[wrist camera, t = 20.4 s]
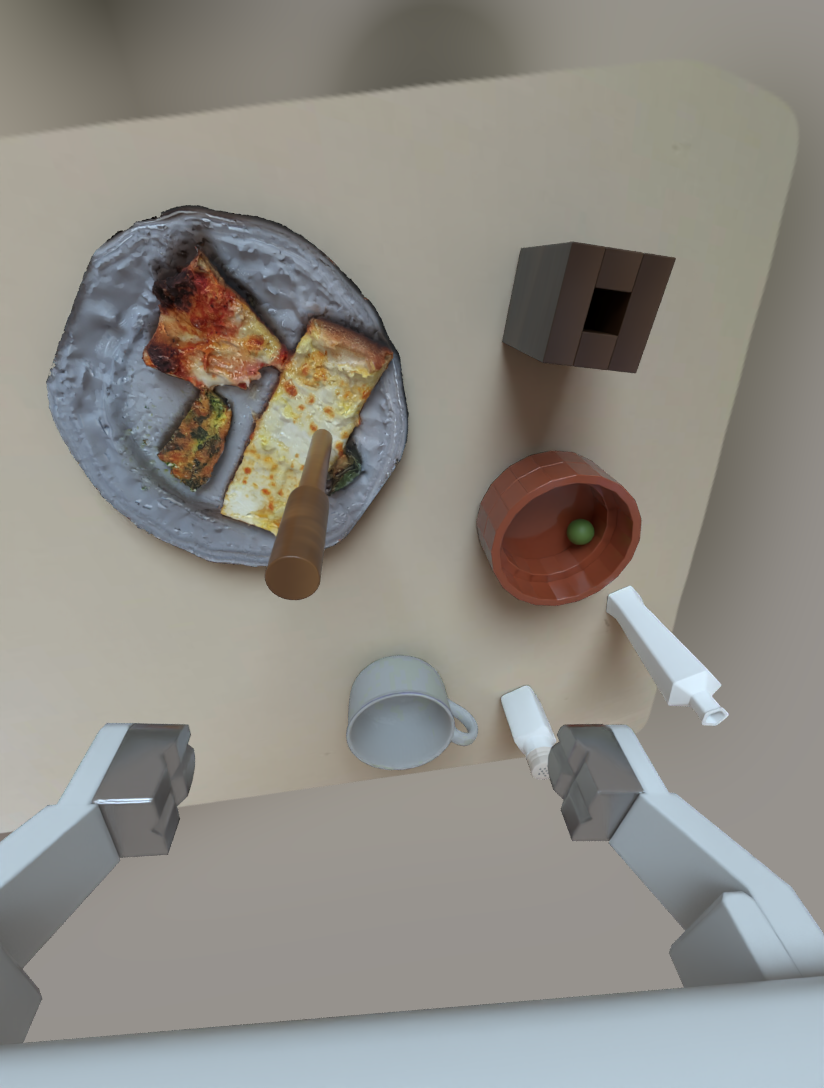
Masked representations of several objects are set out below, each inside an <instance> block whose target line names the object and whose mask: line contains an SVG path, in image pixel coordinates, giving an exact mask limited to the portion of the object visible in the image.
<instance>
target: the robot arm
mask: <svg viewBox="0 0 824 1088" xmlns="http://www.w3.org/2000/svg"><path fill="white" fill-rule="evenodd" d="M190 736H191V733H190V729H189V725H186V724H141V723H107V724H106V725H105V726H104V727H103V728H102V729H101V730H100V731H99V732H98V733H97V735H96V737H95V739H94V740H93V742H92V744H91V746H90V747H89V749H88V751H87V753H86V754H85V756H84V758H83V760H82V761H81V763H80V765H79V766H78V768H77V770H76V772H75V773H74V775H73V777H72V779H71V780H70V782H69V784H68V786H67V787H66V789H65V791H64V793H63V794H62V796H61V798H60V799H59V801H58V803H57V805H47V806H46V807H45V808H43V809H42V810H41V811H40V812H38V813H37V814H36V815H34V816H33V817H32V818H30V819H29V820H28V821H27V822H25V823H24V824H23V825H21V826H20V827H19V828H18V829H16V830H15V831H14V832H12V833H11V834H10V835H9V836H7V837H6V838H5V839H3V840H2V841H1V842H0V1088H824V934H823V933H822V931H821V929H820V928H819V926H818V925H817V923H816V922H815V920H814V919H813V918H812V916H811V915H810V913H809V912H808V910H807V909H806V908H805V906H804V904H803V903H802V902H801V900H800V899H799V897H798V896H797V894H796V893H795V891H794V890H793V888H792V887H791V886H789V885H788V884H787V883H786V882H785V881H783V880H782V879H781V878H780V877H779V876H777V875H776V874H775V873H774V872H772V871H771V870H770V869H769V868H767V867H766V866H765V865H764V864H762V863H761V862H760V861H759V860H758V859H756V858H755V857H754V856H752V855H751V854H750V853H749V852H748V851H746V850H745V849H744V848H743V847H741V846H740V845H739V844H738V843H736V842H735V841H734V840H733V839H732V838H730V837H729V836H728V835H727V834H725V833H724V832H723V831H722V830H720V829H719V828H718V827H717V826H715V825H714V824H713V823H712V822H710V821H709V820H708V819H707V818H706V817H704V816H703V815H702V814H701V813H699V812H698V811H697V810H696V809H694V808H693V807H692V806H691V805H689V804H688V803H687V802H686V801H684V800H683V799H682V798H681V797H680V796H678V795H677V794H676V793H669V792H668V790H667V789H666V787H665V785H664V784H663V782H662V780H661V778H660V777H659V775H658V774H657V772H656V770H655V768H654V766H653V765H652V763H651V761H650V760H649V758H648V756H647V754H646V753H645V751H644V749H643V748H642V746H641V744H640V742H639V741H638V739H637V737H636V736H635V734H634V732H633V731H632V729H631V728H630V727H629V726H627V725H603V724H574V725H563V726H562V727H560V729H559V731H558V733H557V736H558V739H559V742H558V743H556V744H555V745H554V746H552V747H551V750H550V752H549V755H548V772H549V778H550V781H551V784H552V787H553V790H554V791H555V792H556V793H557V794H558V795H559V796H561V797H562V799H564V800H563V804H562V807H561V812H562V815H563V817H564V820H565V823H566V826H567V828H568V831H569V833H570V836H571V839H572V841H609V844H610V845H611V847H612V848H613V849H614V850H615V851H616V852H617V853H618V855H619V856H620V857H621V858H622V859H623V860H624V861H625V862H626V864H627V865H628V866H629V867H630V868H631V869H632V870H633V872H634V873H635V874H636V875H637V876H638V877H639V878H640V880H641V881H642V882H643V883H644V884H645V885H646V886H647V888H648V889H649V890H650V891H651V892H652V893H653V894H654V896H655V897H656V898H657V899H658V900H659V901H660V902H661V904H662V905H663V906H664V907H665V908H666V909H667V910H668V912H669V913H670V914H671V915H672V916H673V917H674V918H675V920H676V921H677V922H678V923H679V924H680V925H681V926H682V928H683V929H684V930H685V932H684V933H683V934H682V935H681V936H680V937H679V938H678V939H677V940H676V941H675V942H674V943H673V944H672V945H671V949H670V951H669V954H670V956H671V959H672V961H673V963H674V965H675V968H676V970H677V972H678V975H679V977H680V979H681V982H682V984H683V986H684V988H675V989H664V990H663V989H662V990H651V991H638V992H627V993H614V994H603V995H591V996H579V997H567V998H555V999H543V1000H531V1001H519V1002H507V1003H495V1004H483V1005H471V1006H459V1007H447V1008H436V1009H423V1010H412V1011H399V1012H388V1013H375V1014H363V1015H351V1016H339V1017H327V1018H317V1019H304V1020H291V1021H280V1022H269V1023H255V1024H243V1025H232V1026H220V1027H208V1028H197V1029H184V1030H172V1031H160V1032H148V1033H137V1034H124V1035H112V1036H100V1037H89V1038H76V1039H64V1040H52V1041H40V1042H28V1043H23V1042H24V1040H25V1037H26V1035H27V1033H28V1030H29V1028H30V1025H31V1023H32V1021H33V1018H34V1016H35V1014H36V1012H37V1009H38V1007H39V1005H40V1002H41V1000H42V996H41V993H40V990H39V988H38V987H37V986H36V985H35V983H34V982H33V981H32V980H31V979H30V977H29V976H28V975H27V974H26V973H25V972H24V970H23V968H24V966H25V965H26V964H27V963H28V962H29V961H30V960H31V959H32V958H33V956H34V955H35V954H36V953H37V952H38V951H39V950H40V949H41V948H42V947H43V945H44V944H45V943H46V942H47V941H48V940H49V939H50V938H51V936H52V935H53V934H54V933H55V932H56V931H57V930H58V929H59V928H60V927H61V926H62V925H63V923H64V922H65V921H66V920H67V919H68V918H69V916H71V915H72V913H73V912H74V911H75V910H76V909H77V908H78V907H79V906H80V905H81V904H82V902H83V901H84V900H85V899H86V898H87V897H88V896H89V895H90V894H91V892H92V891H93V890H94V889H95V888H96V887H97V886H98V885H99V884H100V883H101V881H102V880H103V879H104V878H105V877H106V876H107V875H108V874H109V873H110V872H111V870H112V869H113V868H114V867H115V866H116V865H117V864H118V863H119V861H120V858H122V857H138V856H154V855H168V853H169V850H170V847H171V844H172V841H173V838H174V835H175V832H176V829H177V826H178V823H179V820H180V817H179V813H178V809H177V806H178V805H179V804H180V803H181V802H182V801H183V800H184V799H185V798H186V797H187V796H188V793H189V790H190V787H191V784H192V780H193V774H194V769H195V753H194V748H192V747H191V746H190V745H188V742H189V739H190Z"/></svg>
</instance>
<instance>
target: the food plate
mask: <svg viewBox="0 0 824 1088" xmlns="http://www.w3.org/2000/svg"><path fill="white" fill-rule="evenodd" d="M162 214H163V215H162ZM160 217H161V218H157V217H156V216H155V218H154V217H152V218H151V219H146V220H142V221H138V222H137V221H136V223H134V225H133V226H131V227H130V228H129V229H127V230H125V231H123V230H122V231H117V233H116V234H115V235H114V236H112V237H111V239H108V240H107V242H106V243H104V244H103V245H101V246H100V248H99V249H97V250H96V251H95V253H94V254H93V256H92V257H91V261H90V262H89V265H88V267H87V268H86V269H87V271H86V272H85V273H84V276H83V280H82V283H81V284H80V288H79V291H78V293H77V296H76V298H75V300H74V304H73V307H72V310H71V314H70V315H69V317H68V320H67V323H66V326H65V329H64V331H65V332H64V333H63V334H62V338H61V341H59V345H58V347H57V352H56V354H55V355H56V356H55V359H54V361H53V363H55V365H56V366H55V367H53V369H52V368H51V369H50V371H51V376H48V379H49V380H48V379H47V381H46V383H47V390H48V395H47V396H48V399H49V409H50V410H51V413H52V417H53V420H54V422H55V424H56V426H57V428H58V430H59V432H60V435H61V437H62V439H63V440H64V442H65V444H66V445H67V446H68V448H69V450H70V453H71V454H72V455H73V456H74V458H75V460H76V461H77V462H78V464H79V465H80V466H81V468H82V469H83V470H84V472H85V474H86V475H87V477H88V479H90V481H91V482H92V484H93V485H94V487H96V489H98V490H99V491H100V494H101V495H102V497H103V498H105V499H107V500H106V501H108V502H109V503H111V505H113V507H114V508H116V509H117V510H118V511H119V512H120V513H122V514H123V515H124V516H126V517H127V518H128V519H130V521H131V522H133V523H134V524H135V525H136V526H137V528H140V529H141V528H142V529H145V530H146V531H148V533H149V534H153V535H154V536H155V537H156V538H159V539H161V540H162V541H165V542H166V543H170V544H172V545H173V546H176V547H179V548H182V549H183V550H186V551H188V552H191V553H192V554H195V555H196V556H198V557H201V558H204V559H206V560H207V561H210V562H215V563H223V564H228V563H229V564H231V563H232V564H243V565H245V566H251V567H252V566H253V567H254V566H255V567H257V566H267V565H268V561H269V558H270V555H271V552H272V548H273V545H274V542H275V539H276V535H277V532H278V529H279V526H280V522H281V519H282V516H283V513H284V510H285V506H286V503H287V500H288V497H289V495H290V493H291V492H292V491H293V490H294V489H295V488H297V487H298V486H299V482H300V479H301V475H302V472H303V468H304V464H305V461H306V457H307V454H308V450H309V446H310V443H311V439H312V436H313V433H314V432H315V431H316V430H318V429H325V430H328V431H329V432H330V433H331V435H332V437H333V442H332V449H331V455H330V462H329V469H328V475H327V482H326V489H325V494H326V495H327V497H328V499H329V504H330V506H329V515H328V523H327V531H326V539H325V547H324V549H326V548H329V547H330V546H334V545H336V544H337V543H338V542H339V541H340V540H342V538H343V537H344V535H345V534H347V535H348V534H349V532H350V531H351V530H352V528H353V527H354V525H355V524H356V523H357V521H358V520H359V519H360V517H361V516H362V515H363V513H364V512H365V510H366V509H367V507H368V506H369V505H370V504H371V502H372V500H373V499H374V498H375V496H376V495H377V493H378V492H379V491H380V489H381V488H382V486H383V485H384V484H385V482H386V481H387V480H386V479H388V478H389V475H391V473H390V472H393V471H391V470H394V469H395V464H397V463H396V461H399V462H400V460H401V457H402V454H403V452H404V451H403V450H404V448H405V444H406V442H407V434H408V415H409V413H408V411H407V410H408V409H407V404H406V397H405V391H404V386H403V379H402V376H403V375H402V372H401V370H402V369H401V363H400V362H401V361H400V357H399V356H400V355H399V353H398V351H397V350H396V349H395V347H394V344H393V343H392V342H391V341H390V340H389V339H390V338H389V336H388V335H387V332H386V330H385V328H384V327H385V326H383V322H382V319H381V318H380V316H379V314H378V312H377V311H376V308H375V307H374V306H373V305H372V303H371V302H370V301H369V299H367V298H366V297H364V295H362V294H361V293H362V292H361V291H360V289H359V288H358V286H357V285H356V284H355V283H354V282H353V281H352V280H351V279H349V278H348V277H346V276H347V275H346V274H345V273H344V272H342V271H341V270H340V269H339V267H338V266H337V265H336V264H335V263H334V262H333V261H332V260H331V259H330V258H329V257H327V256H326V255H325V254H324V253H323V252H322V251H321V250H319V249H318V248H317V247H316V246H315V245H313V244H312V243H311V242H309V241H308V240H307V239H305V238H304V237H303V236H302V235H299V234H297V233H294V232H293V231H292V230H290V229H288V227H286V226H282V224H279V223H276V222H274V221H271V220H266V219H264V218H260V217H258V216H249V215H241V214H234V213H228V212H223V211H215V210H212V209H209V208H206V207H203V206H199V205H197V206H196V205H195V206H191V205H188V206H187V205H186V206H181V207H176V208H172V209H170V210H166V211H165V212H164V211H163V212H161V216H160ZM49 374H50V373H49ZM399 462H398V463H399ZM397 465H398V464H397ZM385 480H386V481H385ZM383 483H384V484H383ZM382 484H383V485H382ZM361 514H362V515H361ZM360 515H361V516H360ZM358 518H359V519H358ZM355 522H356V523H355ZM352 526H353V527H352ZM349 530H350V531H349ZM348 531H349V532H348ZM346 532H348V533H346ZM148 533H147V534H148ZM347 535H346V536H347ZM346 536H345V537H346ZM345 537H344V538H345Z"/></svg>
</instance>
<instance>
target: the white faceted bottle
mask: <svg viewBox="0 0 824 1088" xmlns="http://www.w3.org/2000/svg"><path fill="white" fill-rule="evenodd" d="M606 612H607V613H609V614H610V615H611V616H613V617H614V618H616V619H617V621H618V622H619V624H620V626H621V627H622V629H623V631H624V632H625V634H626V636H627V637H628V639H629V641H630V642H631V644H632V646H633V647H634V649H635V651H636V652H637V654H638V656H639V657H640V659H641V661H642V662H643V664H644V666H645V667H646V669H647V671H648V672H649V674H650V676H651V677H652V679H653V680H654V682H655V684H656V685H657V687H658V689H659V690H660V692H661V694H662V695H663V697H664V699H665V700H666V702H667V704H668V705H669V706H685V707H686V706H687V707H692V709H693V710H694V711H695V713H696V714H697V715H698V717H699V718H700V719H701V721H702V725H710V726H714V725H718V724H719V723H720V722H722V721H723V720H724V719H725V718H726V717H728V715H729V714H728V713H727V711H726V710H725V709H724V708H722V707H720V706H719V704H718V703H717V702H716V701H715V699H714V698H713V697H712V695H713V694H714V693H715V692H716V691H717V690H718V688H720V686H721V684H720V683H719V682H718V680H717V679H716V678H715V677H714V676H713V675H712V674H711V672H710V671H709V670H708V669H707V668H706V667H705V666H704V665H703V664H702V663H701V662H700V661H699V660H698V659H697V658H696V657H695V656H694V655H693V654H692V653H691V652H690V651H689V650H688V649H687V648H686V647H685V646H684V645H683V644H682V643H681V642H680V641H679V640H678V639H677V638H676V637H675V636H674V635H673V634H672V633H671V632H670V631H669V630H668V629H667V628H666V627H665V626H664V625H663V624H662V623H661V622H660V621H659V619H658V618H657V617H656V616H655V615H654V614H653V613H652V612H651V611H650V610H649V609H648V608H647V607H646V606H645V605H644V603H643V601H642V598H641V596H640V595H639V594H638V593H637V592H636V591H635V590H634V588H633V587H632V586H628V587H625V588H623V589H621V590H618V591H616V592H613V593H611V594H609V595H608V600H607V609H606Z"/></svg>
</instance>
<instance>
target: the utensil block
mask: <svg viewBox="0 0 824 1088" xmlns="http://www.w3.org/2000/svg"><path fill="white" fill-rule="evenodd" d="M675 260H676V258H674V257H668V256H661V255H655V254H649V253H642V252H636V251H629V250H623V249H617V248H610V247H604V246H597V245H591V244H585V243H578V242H567V243H559V244H551V245H543V246H535V247H528V248H521V251H520V256H519V261H518V266H517V271H516V276H515V281H514V285H513V290H512V295H511V300H510V305H509V310H508V315H507V320H506V325H505V330H504V335H503V340H502V342H504V343H506V344H508V345H509V346H511V347H513V348H515V349H517V350H519V351H521V352H523V353H525V354H527V355H529V356H531V357H533V358H535V359H537V360H539V361H541V362H543V363H549V364H558V365H567V366H575V367H584V368H593V369H601V370H611V371H619V372H628V373H636V372H637V369H638V366H639V363H640V360H641V357H642V354H643V351H644V349H645V346H646V343H647V340H648V337H649V334H650V331H651V328H652V326H653V323H654V320H655V317H656V314H657V311H658V308H659V305H660V303H661V300H662V297H663V294H664V291H665V288H666V285H667V282H668V280H669V277H670V274H671V271H672V268H673V265H674V262H675Z"/></svg>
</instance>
